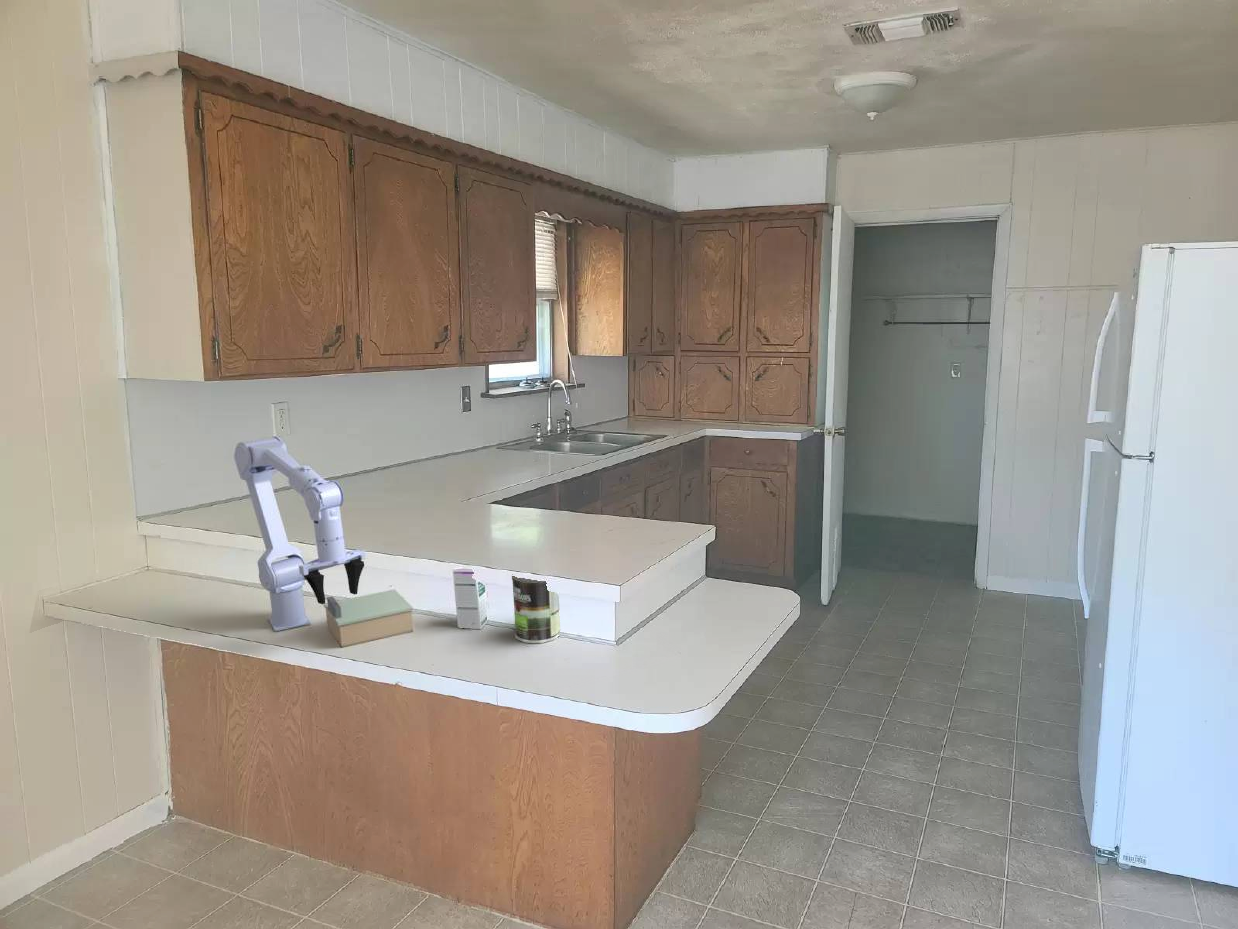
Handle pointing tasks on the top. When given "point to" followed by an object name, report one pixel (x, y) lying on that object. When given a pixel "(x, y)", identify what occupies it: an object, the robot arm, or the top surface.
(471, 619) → the syrup box
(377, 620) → the mailer box
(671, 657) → the top surface
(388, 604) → the lid
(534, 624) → the coffee can
